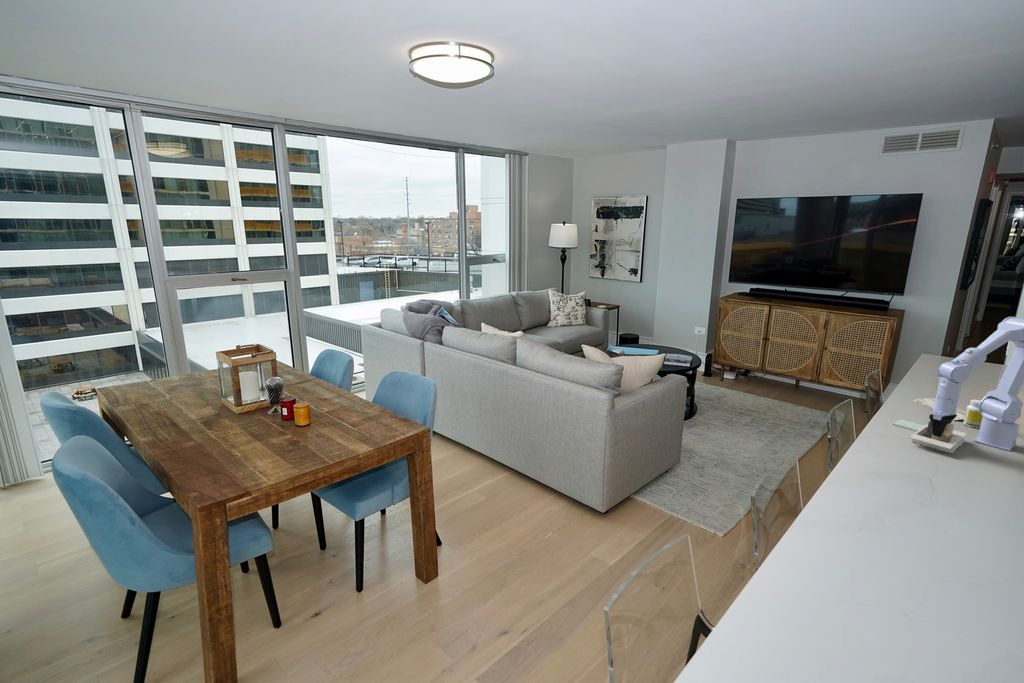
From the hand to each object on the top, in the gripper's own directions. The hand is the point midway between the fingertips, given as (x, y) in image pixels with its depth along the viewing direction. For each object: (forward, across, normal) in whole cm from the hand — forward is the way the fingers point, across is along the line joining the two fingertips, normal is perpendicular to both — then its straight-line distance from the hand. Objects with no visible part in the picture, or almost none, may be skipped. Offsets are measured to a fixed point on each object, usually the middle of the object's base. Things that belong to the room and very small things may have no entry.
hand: (938, 434), depth 174 cm
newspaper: (+4, -42, -7) cm, 43 cm away
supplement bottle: (+4, -30, +3) cm, 30 cm away
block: (+2, 0, 0) cm, 2 cm away
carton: (+3, 0, 0) cm, 3 cm away
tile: (+3, -10, -11) cm, 15 cm away
